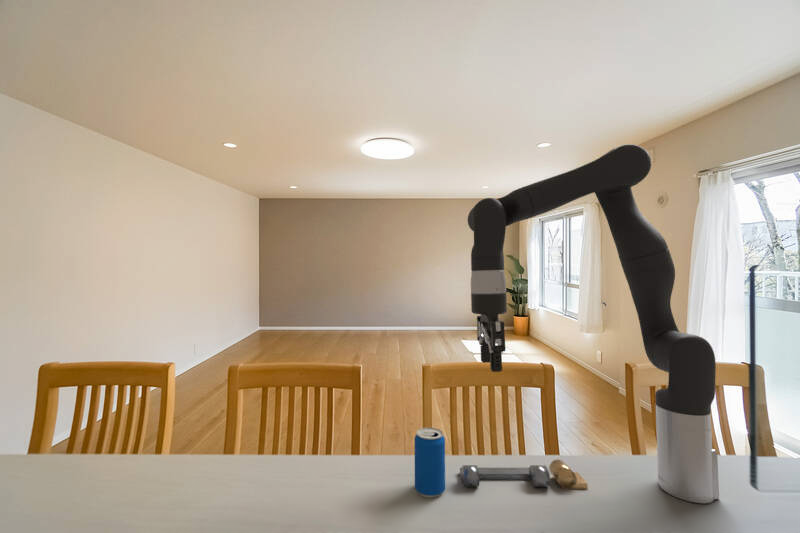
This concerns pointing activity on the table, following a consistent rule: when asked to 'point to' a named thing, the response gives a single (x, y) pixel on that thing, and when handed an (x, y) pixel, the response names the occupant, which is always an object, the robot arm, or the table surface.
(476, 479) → the grey metal dumbbell
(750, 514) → the table surface
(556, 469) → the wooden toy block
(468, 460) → the table surface
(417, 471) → the beverage can
